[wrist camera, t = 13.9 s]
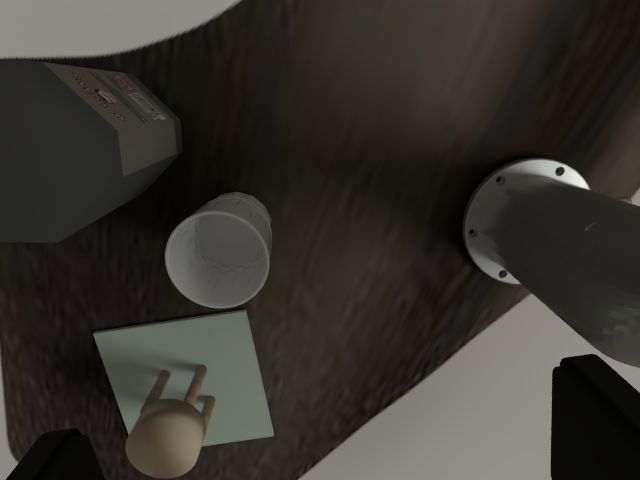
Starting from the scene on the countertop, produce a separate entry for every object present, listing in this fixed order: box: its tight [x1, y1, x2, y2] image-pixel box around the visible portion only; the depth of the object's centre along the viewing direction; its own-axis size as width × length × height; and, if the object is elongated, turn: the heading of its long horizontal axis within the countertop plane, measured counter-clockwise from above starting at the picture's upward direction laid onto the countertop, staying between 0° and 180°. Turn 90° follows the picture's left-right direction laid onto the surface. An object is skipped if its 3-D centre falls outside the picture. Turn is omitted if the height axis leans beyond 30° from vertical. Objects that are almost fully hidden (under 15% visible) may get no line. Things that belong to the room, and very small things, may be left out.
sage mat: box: [93, 309, 274, 446], centre depth 48 cm, size 16×16×1 cm
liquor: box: [0, 59, 183, 243], centre depth 26 cm, size 9×9×30 cm
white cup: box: [165, 192, 272, 308], centre depth 38 cm, size 8×8×10 cm
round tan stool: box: [126, 365, 216, 478], centre depth 44 cm, size 6×6×9 cm
